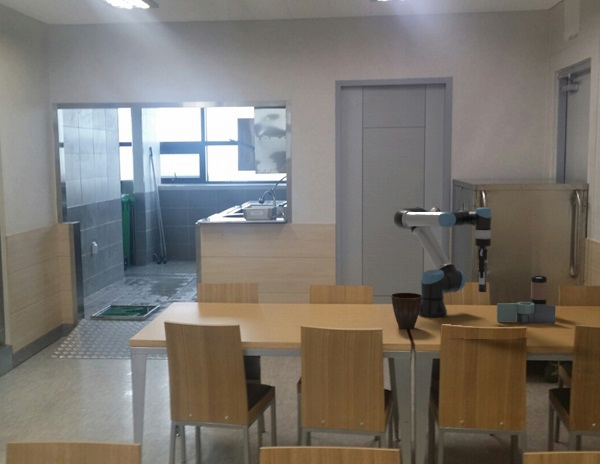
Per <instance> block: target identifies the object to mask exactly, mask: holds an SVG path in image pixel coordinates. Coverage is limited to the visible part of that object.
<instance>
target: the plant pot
mask: <svg viewBox="0 0 600 464" xmlns="http://www.w3.org/2000/svg"><path fill="white" fill-rule="evenodd" d="M390 296H391V303H392V309H393V313H394V314H393V315H394V317H395V318H394V319H395V320H396V323H397V327H398V328H399V329H402V330H412V329H414V328H415V327H416V323H417V320H418V317H419V311H420V307H421V301H422V295H421V294H420V293H416V292H415V293H414V292H396V293H391V295H390Z"/></svg>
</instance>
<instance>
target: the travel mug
mask: <svg viewBox="0 0 600 464" xmlns="http://www.w3.org/2000/svg"><path fill="white" fill-rule="evenodd" d="M530 280H531V281H530V282H531V283H530V303H534V304H544V305H547V286H548V283H547V281H548V278H547V277H546V276H544V275H535V276H531V279H530Z"/></svg>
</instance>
